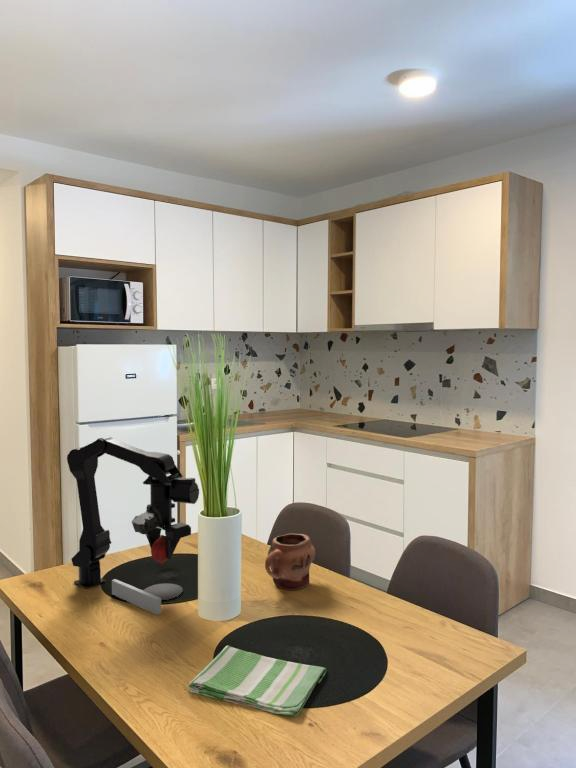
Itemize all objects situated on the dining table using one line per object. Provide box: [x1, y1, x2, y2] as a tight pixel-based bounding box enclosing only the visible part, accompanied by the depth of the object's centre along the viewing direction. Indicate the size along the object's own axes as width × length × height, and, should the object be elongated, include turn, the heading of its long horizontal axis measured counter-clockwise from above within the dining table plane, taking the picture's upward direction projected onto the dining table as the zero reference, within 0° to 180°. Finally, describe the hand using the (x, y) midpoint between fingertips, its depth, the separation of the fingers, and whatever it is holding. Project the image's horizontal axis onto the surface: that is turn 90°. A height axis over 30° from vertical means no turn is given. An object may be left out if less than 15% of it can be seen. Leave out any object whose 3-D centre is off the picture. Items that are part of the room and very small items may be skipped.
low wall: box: [111, 578, 162, 616], centre depth 161 cm, size 20×1×4 cm, turn 50°
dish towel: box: [187, 645, 327, 717], centre depth 123 cm, size 18×23×3 cm
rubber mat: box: [142, 583, 184, 602], centre depth 168 cm, size 11×11×1 cm
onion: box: [150, 534, 168, 564], centre depth 167 cm, size 6×6×8 cm
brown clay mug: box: [264, 533, 316, 591], centre depth 172 cm, size 20×12×14 cm, turn 147°
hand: (161, 556), depth 168 cm, fingers closed on onion, 6 cm apart
